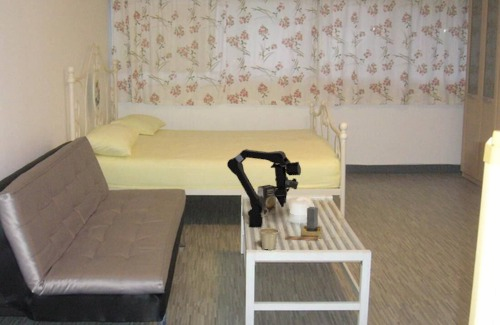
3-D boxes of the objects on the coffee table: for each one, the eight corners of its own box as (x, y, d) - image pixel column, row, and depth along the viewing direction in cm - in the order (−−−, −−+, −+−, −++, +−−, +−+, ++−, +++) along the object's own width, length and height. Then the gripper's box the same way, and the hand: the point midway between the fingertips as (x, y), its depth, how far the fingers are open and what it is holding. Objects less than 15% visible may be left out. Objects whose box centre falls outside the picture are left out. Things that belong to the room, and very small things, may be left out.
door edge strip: (285, 239, 295) (285, 237, 295) (285, 238, 297) (285, 236, 297) (317, 240, 293) (317, 238, 293) (317, 239, 295) (317, 237, 295)
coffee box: (264, 216, 336) (264, 188, 333) (256, 214, 341) (256, 186, 338) (276, 213, 342) (276, 186, 339) (269, 211, 347) (269, 184, 344)
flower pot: (281, 246, 285) (281, 228, 284) (275, 252, 276) (275, 234, 275) (262, 244, 288) (262, 226, 287) (256, 250, 279) (256, 232, 278)
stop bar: (306, 235, 301) (307, 208, 298) (310, 233, 304) (310, 206, 302) (313, 236, 299) (314, 209, 296) (317, 234, 302) (317, 207, 300)
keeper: (301, 238, 297) (301, 231, 297) (302, 232, 307) (302, 225, 306) (321, 238, 296) (322, 232, 296) (321, 232, 306) (321, 226, 305)
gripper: (294, 178, 298) (297, 208, 300) (298, 171, 316) (300, 200, 319) (272, 179, 300) (275, 209, 302) (277, 172, 318) (279, 201, 321)
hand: (283, 205), depth 311 cm, fingers open, 9 cm apart
